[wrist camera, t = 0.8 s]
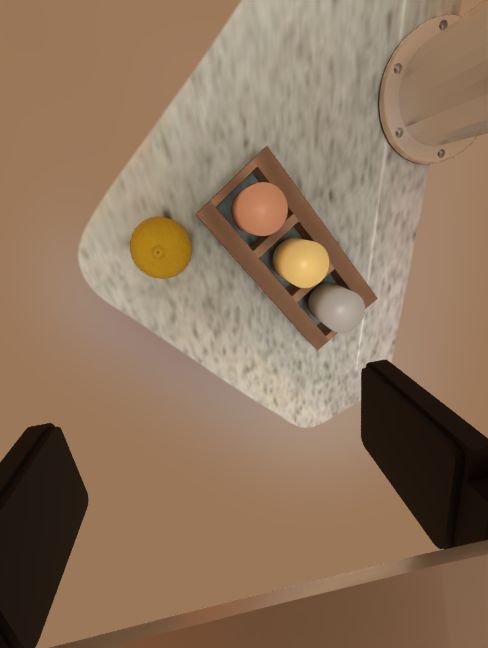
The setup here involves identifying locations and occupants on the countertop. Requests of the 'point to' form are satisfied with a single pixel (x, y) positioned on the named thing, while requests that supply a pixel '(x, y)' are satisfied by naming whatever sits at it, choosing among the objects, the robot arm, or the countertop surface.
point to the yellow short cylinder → (301, 262)
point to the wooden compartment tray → (298, 217)
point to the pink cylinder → (260, 209)
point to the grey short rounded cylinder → (336, 307)
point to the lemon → (160, 247)
